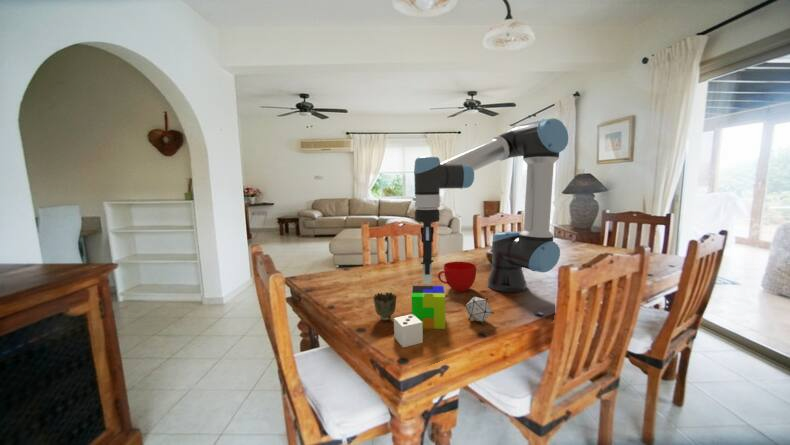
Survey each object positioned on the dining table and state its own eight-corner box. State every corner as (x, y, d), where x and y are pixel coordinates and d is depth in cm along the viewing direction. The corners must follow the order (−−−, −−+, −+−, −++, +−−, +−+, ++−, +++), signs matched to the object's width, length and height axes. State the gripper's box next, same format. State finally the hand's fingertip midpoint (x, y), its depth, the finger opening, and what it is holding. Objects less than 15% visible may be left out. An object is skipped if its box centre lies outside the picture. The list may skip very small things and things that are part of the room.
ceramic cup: (429, 288, 128) (429, 265, 127) (462, 282, 135) (463, 260, 134) (447, 298, 116) (447, 273, 115) (482, 291, 123) (483, 267, 122)
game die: (477, 335, 96) (467, 317, 91) (465, 315, 103) (454, 297, 98) (502, 320, 96) (493, 301, 90) (488, 302, 103) (479, 283, 98)
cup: (396, 314, 104) (396, 291, 103) (397, 324, 96) (396, 299, 95) (374, 315, 104) (373, 292, 103) (373, 325, 96) (372, 300, 95)
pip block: (413, 333, 91) (412, 313, 90) (422, 342, 85) (422, 321, 84) (394, 337, 88) (393, 317, 88) (403, 347, 83) (402, 326, 82)
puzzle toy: (443, 314, 103) (443, 286, 101) (445, 328, 93) (445, 297, 92) (413, 314, 104) (413, 285, 102) (412, 328, 94) (411, 296, 93)
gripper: (415, 207, 100) (415, 277, 103) (414, 210, 88) (414, 290, 90) (438, 206, 100) (438, 277, 103) (440, 210, 87) (440, 290, 90)
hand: (427, 283), depth 97 cm, fingers closed
